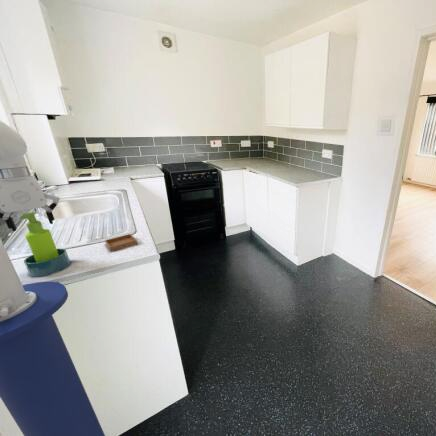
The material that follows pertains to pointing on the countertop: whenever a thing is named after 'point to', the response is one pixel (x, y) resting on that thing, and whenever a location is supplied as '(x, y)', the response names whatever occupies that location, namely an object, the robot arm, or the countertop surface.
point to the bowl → (47, 264)
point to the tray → (120, 242)
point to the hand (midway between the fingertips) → (33, 226)
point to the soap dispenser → (39, 239)
